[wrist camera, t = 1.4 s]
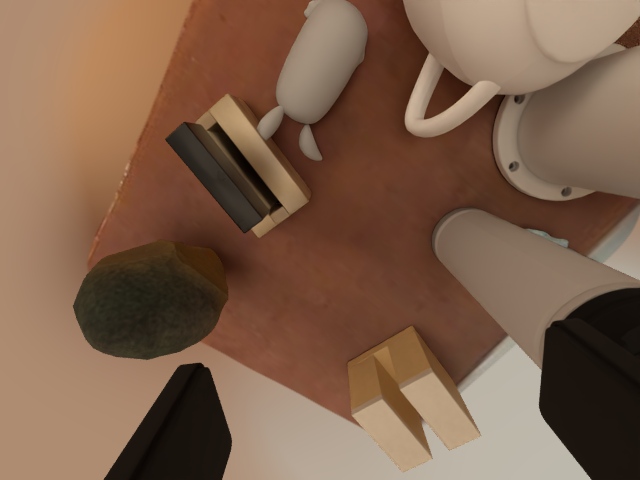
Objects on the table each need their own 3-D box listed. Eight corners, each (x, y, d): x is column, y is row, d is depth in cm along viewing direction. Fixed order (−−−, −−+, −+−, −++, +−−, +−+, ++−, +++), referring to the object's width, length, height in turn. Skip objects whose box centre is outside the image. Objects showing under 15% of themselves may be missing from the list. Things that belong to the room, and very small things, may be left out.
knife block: (199, 139, 28) (175, 138, 23) (244, 100, 27) (227, 92, 22) (268, 224, 30) (258, 238, 26) (312, 192, 29) (309, 201, 25)
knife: (225, 140, 28) (163, 139, 17) (238, 129, 27) (184, 121, 17) (274, 201, 29) (244, 234, 19) (287, 191, 29) (263, 219, 19)
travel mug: (447, 279, 31) (631, 494, 12) (420, 226, 30) (583, 380, 11) (506, 251, 30) (809, 438, 11) (481, 194, 28) (787, 300, 9)
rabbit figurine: (308, -35, 20) (234, 124, 25) (355, -13, 18) (263, 158, 23) (358, 18, 25) (287, 143, 30) (400, 41, 23) (316, 172, 28)
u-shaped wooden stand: (411, 324, 33) (433, 372, 26) (452, 379, 35) (481, 436, 28) (347, 362, 35) (351, 415, 28) (389, 412, 37) (402, 472, 30)
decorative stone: (260, 249, 31) (201, 343, 17) (235, 295, 33) (162, 415, 18) (172, 202, 30) (26, 258, 15) (151, 252, 31) (1, 345, 17)
